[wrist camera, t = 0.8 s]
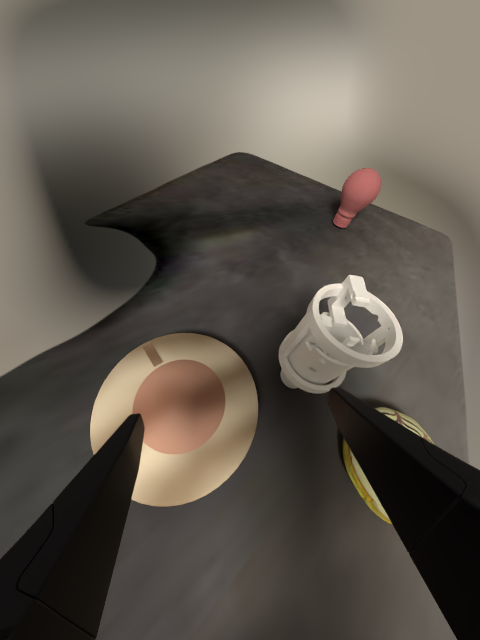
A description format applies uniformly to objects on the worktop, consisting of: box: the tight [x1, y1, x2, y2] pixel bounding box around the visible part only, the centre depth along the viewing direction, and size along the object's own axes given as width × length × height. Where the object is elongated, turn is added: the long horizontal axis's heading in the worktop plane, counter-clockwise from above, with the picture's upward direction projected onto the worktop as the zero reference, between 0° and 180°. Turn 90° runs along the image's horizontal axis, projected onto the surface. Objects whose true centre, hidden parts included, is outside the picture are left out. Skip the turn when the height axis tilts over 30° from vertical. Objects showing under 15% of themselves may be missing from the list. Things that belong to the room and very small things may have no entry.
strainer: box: [279, 275, 403, 394], centre depth 21 cm, size 7×7×15 cm
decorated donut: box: [343, 407, 434, 524], centre depth 22 cm, size 10×11×4 cm
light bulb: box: [333, 168, 381, 228], centre depth 45 cm, size 7×7×12 cm
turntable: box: [90, 333, 258, 506], centre depth 21 cm, size 16×16×1 cm
